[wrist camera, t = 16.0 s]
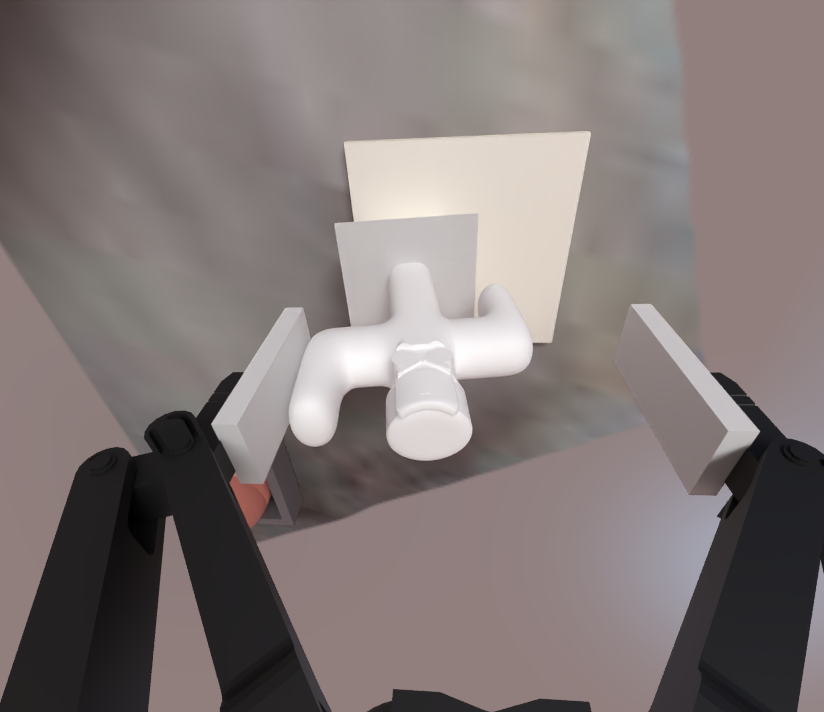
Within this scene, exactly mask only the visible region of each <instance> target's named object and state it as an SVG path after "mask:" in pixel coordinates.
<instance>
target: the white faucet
mask: <svg viewBox="0 0 824 712" xmlns="http://www.w3.org/2000/svg"><path fill="white" fill-rule="evenodd" d="M478 214H479V213H472V214H458V215H444V216H430V217H416V218H402V219H387V220H373V221H359V222H345V223H334V225H335V232H336V238H337V244H338V250H339V256H340V262H341V268H342V274H343V280H344V286H345V293H346V299H347V305H348V311H349V317H350V323H351V327H340V328H331V329H326V330H323V331H321V332H319V333H317V334H316V335H315V336H313V338H312V339H311V340H310V342H309V343H308V345H307V347H306V350H305V352H304V355H303V358H302V361H301V365H300V368H299V372H298V375H297V379H296V382H295V385H294V389H293V392H292V396H291V400H290V404H289V422H290V426H291V429H292V431H293V433H294V435H295V436H296V438H297V439H298V440H299V441H300V442H302V443H303V444H305V445H308V446H312V447H317V446H322V445H324V444H326V443H327V442H329V441H330V440H331V439H332V437H333V435H334V433H335V431H336V428H337V423H338V417H339V410H340V405H341V401H342V399H343V397H344V395H345V394H346V393H347V392H348V391H350V390H351V389H354V388H360V387H373V386H384V387H388V388H390V391H389V393H388V394H387V398H386V438H387V442H388V444H389V445H390V447H391V448H392V449H393V450H394V451H395V452H397V453H398V454H400V455H402V456H404V457H406V458H409V459H414V460H421V461H430V460H438V459H442V458H445V457H448V456H451V455H453V454H455V453H457V452H458V451H460V450H461V449H462V448H463V447H464V446H466V444H467V443H468V442H469V440H470V438H471V435H472V423H471V419H470V414H469V410H468V405H467V401H466V396H465V392H464V390H463V388H462V386H461V385H460V384H459V382H458V380H463V379H475V378H488V377H501V376H510V375H514V374H517V373H519V372H521V371H523V370H524V369H525V368H526V367H527V366H528V365H529V363H530V361H531V358H532V353H533V344H532V337H531V334H530V330H529V328H528V325H527V323H526V321H525V320H524V318H523V316H522V314H521V312H520V311H519V309H518V307H517V305H516V304H515V302H514V300H513V299H512V297H511V295H510V293H509V292H508V290H507V289H506V288H505V287H503V286H502V285H499V284H491V285H489V286H487V287H486V288H484V289H483V291H482V292H481V294H480V296H479V300H478V316H479V317H474V306H475V283H476V260H477V237H478Z"/></svg>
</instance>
